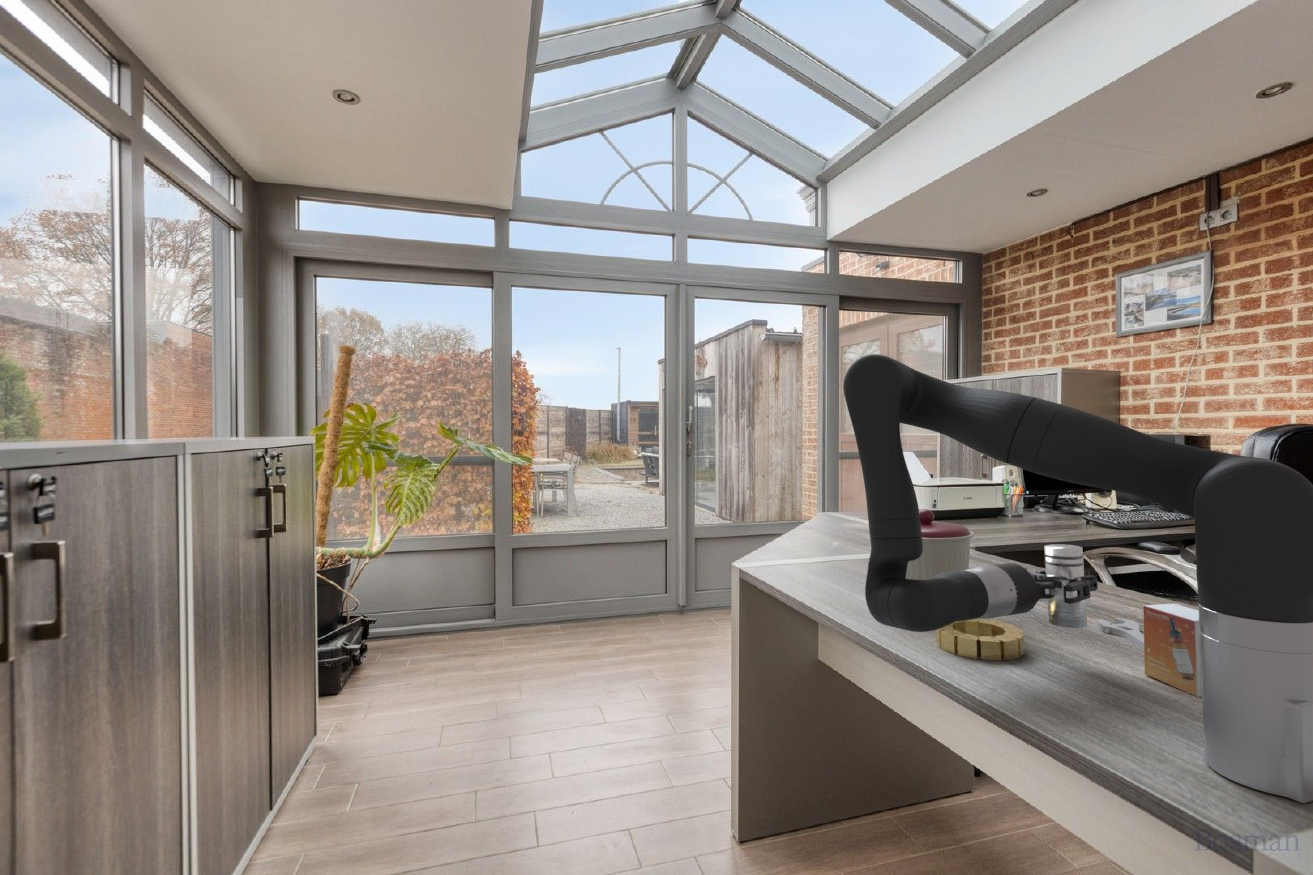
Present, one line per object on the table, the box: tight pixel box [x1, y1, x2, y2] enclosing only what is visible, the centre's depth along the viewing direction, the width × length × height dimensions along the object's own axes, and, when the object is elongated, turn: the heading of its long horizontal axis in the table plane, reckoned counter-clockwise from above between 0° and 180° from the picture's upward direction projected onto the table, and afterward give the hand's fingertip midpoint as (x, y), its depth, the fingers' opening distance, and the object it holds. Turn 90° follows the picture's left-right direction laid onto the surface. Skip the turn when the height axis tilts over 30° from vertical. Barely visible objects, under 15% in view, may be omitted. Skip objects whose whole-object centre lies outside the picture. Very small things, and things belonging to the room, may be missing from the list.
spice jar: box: [1043, 543, 1088, 629], centre depth 94 cm, size 5×5×12 cm
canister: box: [906, 508, 975, 580], centre depth 126 cm, size 18×18×21 cm
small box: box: [1142, 603, 1202, 698], centre depth 85 cm, size 8×6×10 cm
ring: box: [934, 618, 1026, 661], centre depth 103 cm, size 13×13×3 cm
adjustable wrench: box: [1097, 617, 1144, 650], centre depth 101 cm, size 25×6×2 cm, turn 162°
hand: (1077, 579), depth 95 cm, fingers closed on spice jar, 5 cm apart
